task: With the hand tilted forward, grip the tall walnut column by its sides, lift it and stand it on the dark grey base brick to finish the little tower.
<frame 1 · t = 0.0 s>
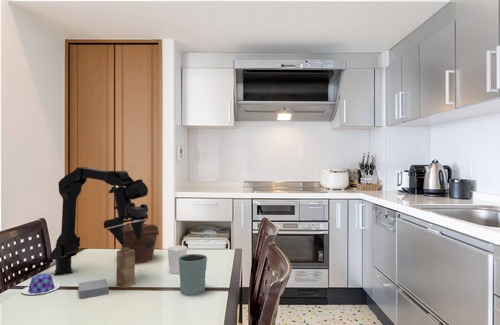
hand: (131, 241, 126), 15 cm above the table, tool pointing down, fingers open, 9 cm apart
brown basket: (138, 260, 156), on the table
base brick: (93, 291, 116), on the table
white cup: (177, 271, 139), on the table
purple patterned hat: (41, 290, 118), on the table
column: (125, 285, 122), on the table
drinking glass 2: (192, 291, 117), on the table
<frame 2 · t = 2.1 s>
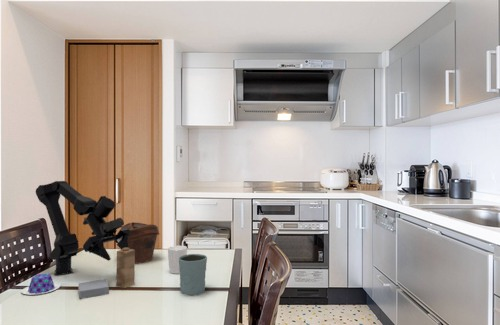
hand: (119, 256, 124), 10 cm above the table, tool tilted 45°, fingers open, 9 cm apart
nothing on the table moved.
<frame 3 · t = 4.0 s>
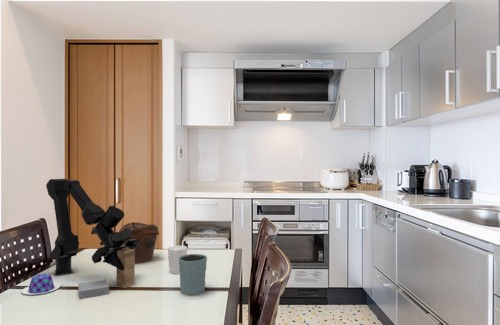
hand: (128, 268, 122), 7 cm above the table, tool tilted 45°, fingers closed on column, 4 cm apart
column: (125, 285, 122), on the table, touching gripper
everything else where it was.
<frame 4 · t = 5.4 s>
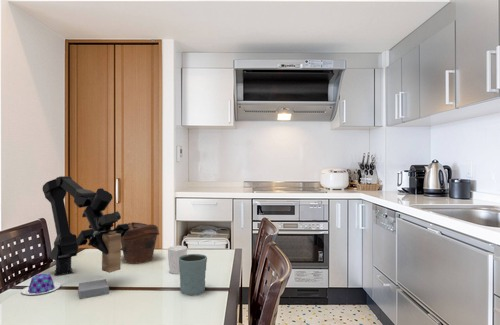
hand: (113, 252, 118), 13 cm above the table, tool tilted 45°, fingers closed on column, 4 cm apart
column: (111, 269, 119), point 7 cm above the table, touching gripper
everything else where it was.
when the fingers open (10 cm above the table, at t = 7.0 s): column stays where it is, resting on base brick.
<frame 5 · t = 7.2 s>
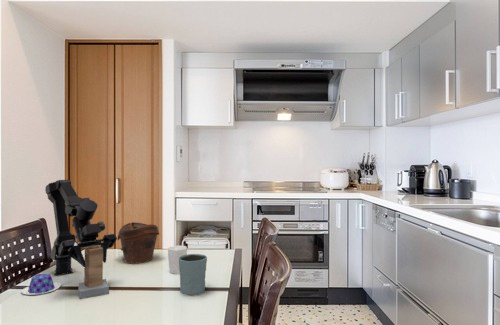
hand: (95, 264, 115), 10 cm above the table, tool tilted 45°, fingers open, 7 cm apart
column: (93, 284, 116), point 2 cm above the table, touching base brick
everything else where it was.
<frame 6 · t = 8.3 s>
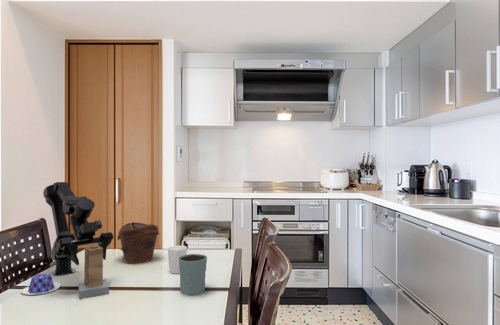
hand: (92, 261, 117), 10 cm above the table, tool tilted 45°, fingers open, 9 cm apart
nothing on the table moved.
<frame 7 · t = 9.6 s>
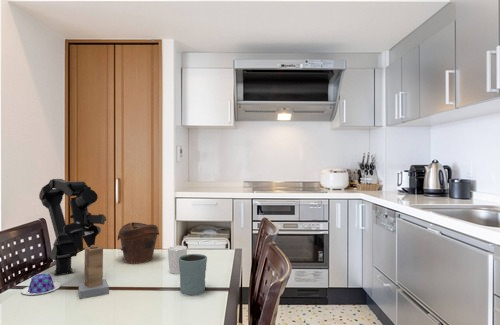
hand: (87, 250, 124), 12 cm above the table, tool tilted 25°, fingers open, 9 cm apart
nothing on the table moved.
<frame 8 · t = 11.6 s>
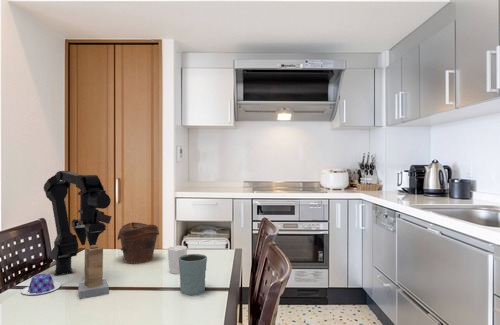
hand: (87, 247, 127), 13 cm above the table, tool pointing down, fingers open, 9 cm apart
nothing on the table moved.
at the end: column inside the target area on the base brick (0.0 cm from its centre), point 2.5 cm above the base brick's base; column tilted 0°; the gripper is holding nothing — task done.
